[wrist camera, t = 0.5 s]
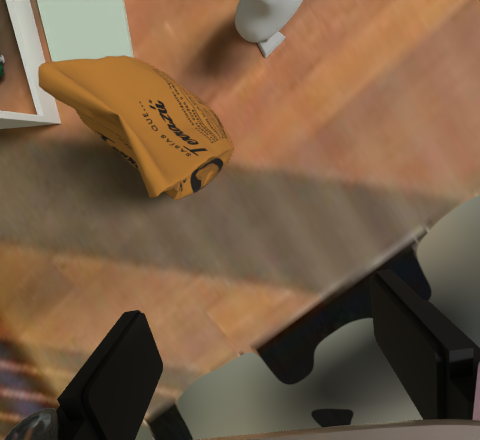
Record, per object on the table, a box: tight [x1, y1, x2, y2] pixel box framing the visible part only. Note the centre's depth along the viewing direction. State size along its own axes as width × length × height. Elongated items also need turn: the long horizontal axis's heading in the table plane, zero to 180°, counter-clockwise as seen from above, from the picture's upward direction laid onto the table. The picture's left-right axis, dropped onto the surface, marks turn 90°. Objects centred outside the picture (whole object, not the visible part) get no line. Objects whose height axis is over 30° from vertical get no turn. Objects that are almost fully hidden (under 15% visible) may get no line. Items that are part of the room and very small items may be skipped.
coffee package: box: [38, 55, 234, 200], centre depth 27 cm, size 10×12×22 cm
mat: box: [37, 0, 134, 61], centre depth 34 cm, size 11×11×1 cm
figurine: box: [235, 0, 303, 58], centre depth 28 cm, size 8×5×12 cm
